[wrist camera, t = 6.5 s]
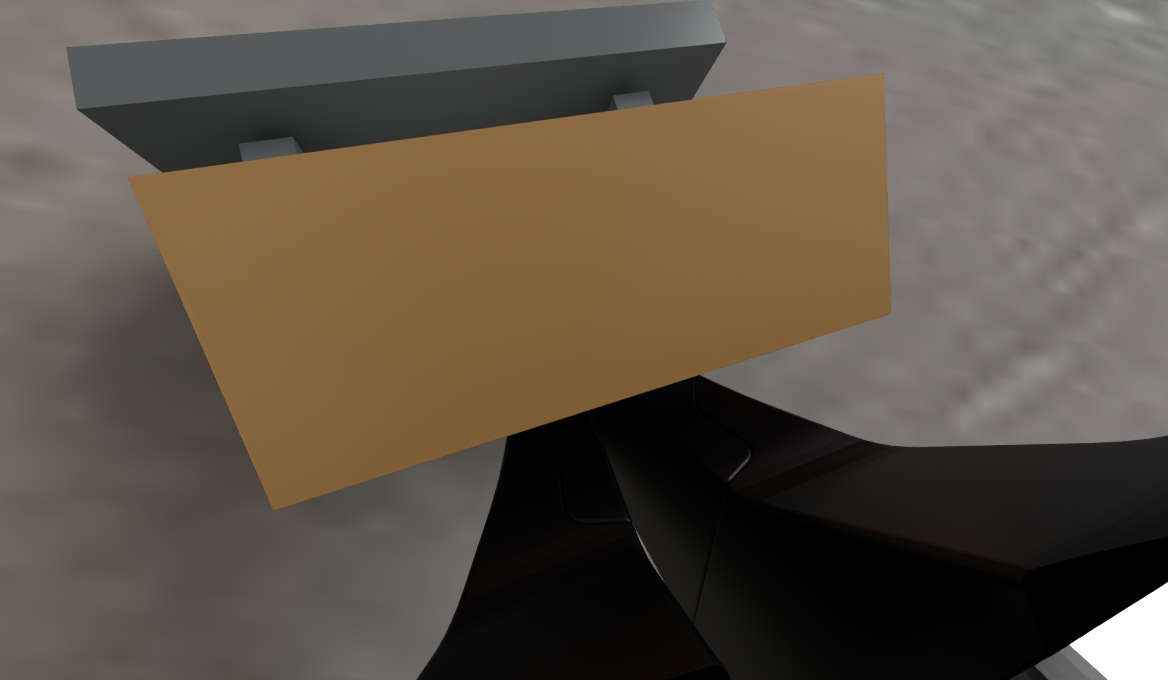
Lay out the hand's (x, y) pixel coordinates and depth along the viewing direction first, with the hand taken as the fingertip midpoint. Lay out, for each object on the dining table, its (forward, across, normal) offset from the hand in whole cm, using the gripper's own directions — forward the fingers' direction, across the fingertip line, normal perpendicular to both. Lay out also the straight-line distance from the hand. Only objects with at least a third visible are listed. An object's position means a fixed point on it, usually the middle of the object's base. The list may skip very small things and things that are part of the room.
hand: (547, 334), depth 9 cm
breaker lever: (+6, 0, +1) cm, 6 cm away
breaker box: (+9, 0, +2) cm, 10 cm away
